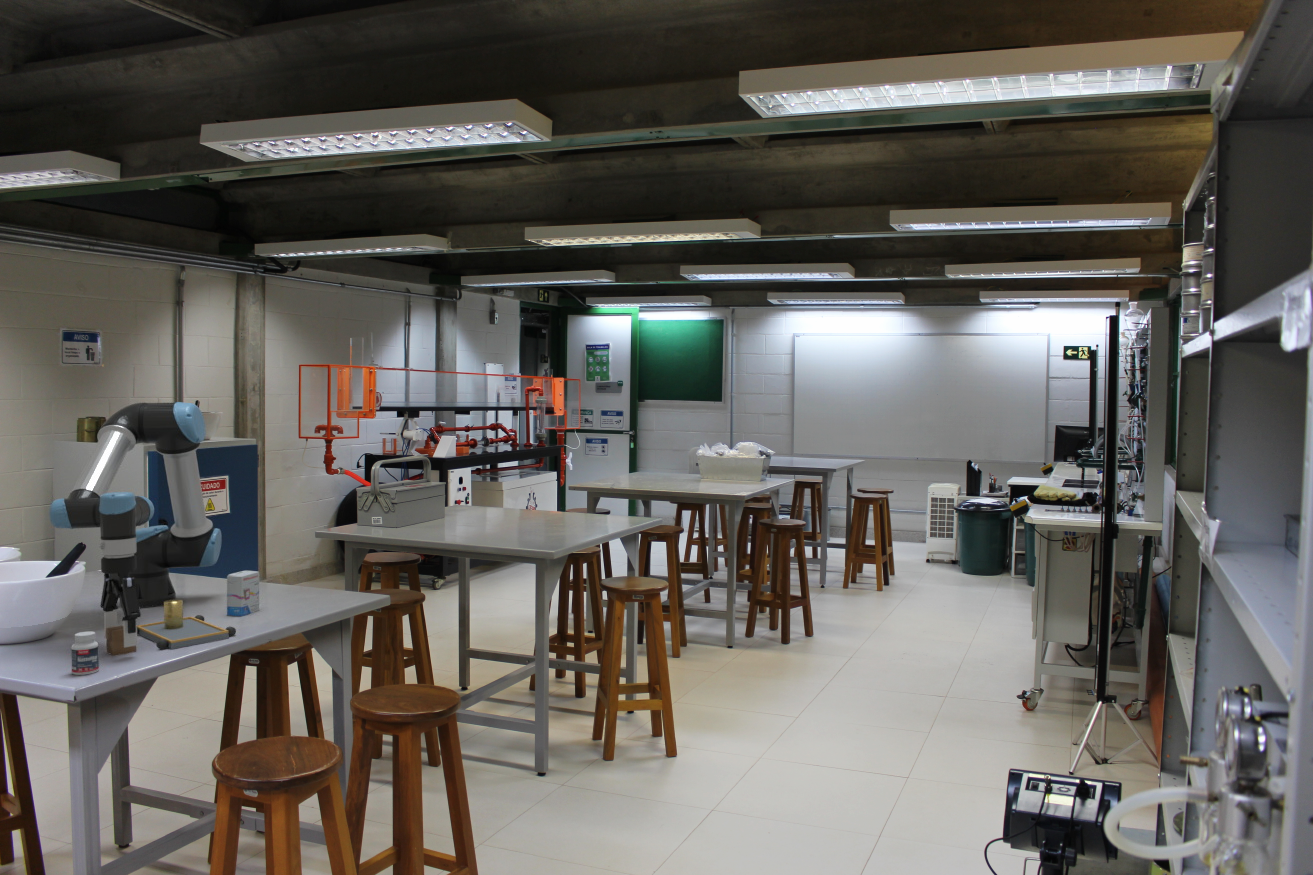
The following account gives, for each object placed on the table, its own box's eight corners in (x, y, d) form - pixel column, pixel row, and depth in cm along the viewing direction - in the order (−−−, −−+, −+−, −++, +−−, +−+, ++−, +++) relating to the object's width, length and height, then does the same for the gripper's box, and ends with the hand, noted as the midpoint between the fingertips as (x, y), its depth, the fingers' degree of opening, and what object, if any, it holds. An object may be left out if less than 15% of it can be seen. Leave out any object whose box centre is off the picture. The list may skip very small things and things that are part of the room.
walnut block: (106, 652, 224) (106, 628, 224) (129, 648, 228) (128, 624, 228) (113, 656, 221) (113, 631, 220) (136, 651, 224) (135, 627, 224)
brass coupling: (162, 627, 242) (161, 601, 242) (179, 624, 246) (178, 598, 245) (168, 630, 239) (167, 603, 239) (185, 626, 243) (185, 600, 242)
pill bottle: (75, 676, 204) (74, 637, 203) (68, 672, 207) (67, 633, 207) (102, 671, 208) (101, 633, 207) (94, 667, 211) (93, 629, 211)
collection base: (125, 635, 240) (125, 626, 240) (200, 621, 255) (200, 613, 254) (160, 651, 224) (160, 641, 224) (238, 636, 239) (238, 627, 238)
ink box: (241, 616, 261) (240, 575, 260) (226, 615, 262) (225, 575, 261) (260, 610, 269) (259, 570, 269) (245, 609, 270) (244, 569, 270)
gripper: (84, 552, 229) (86, 636, 229) (119, 562, 212) (121, 653, 213) (117, 548, 234) (119, 630, 235) (154, 558, 218) (156, 646, 218)
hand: (120, 641), depth 224 cm, fingers open, 13 cm apart
